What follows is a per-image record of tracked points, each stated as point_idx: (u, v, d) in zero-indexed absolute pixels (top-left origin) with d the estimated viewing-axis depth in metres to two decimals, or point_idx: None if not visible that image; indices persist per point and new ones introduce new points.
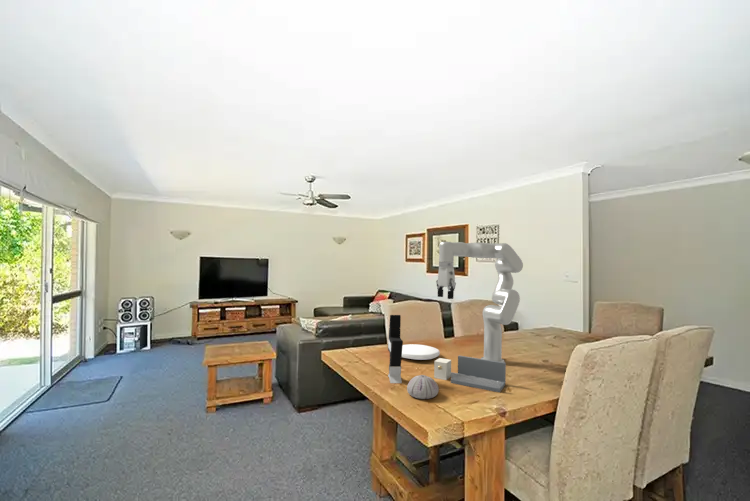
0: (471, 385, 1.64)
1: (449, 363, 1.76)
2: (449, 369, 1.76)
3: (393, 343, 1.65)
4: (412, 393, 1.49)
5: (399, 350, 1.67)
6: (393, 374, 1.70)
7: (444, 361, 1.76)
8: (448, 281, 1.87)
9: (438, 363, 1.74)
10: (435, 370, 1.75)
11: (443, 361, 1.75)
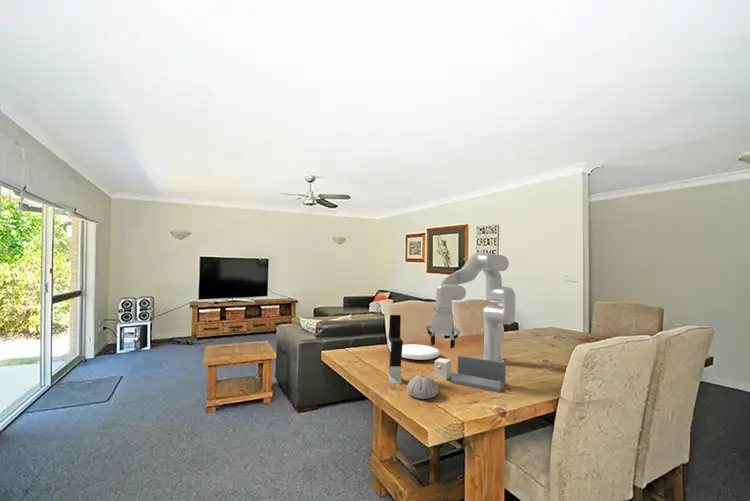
0: (471, 385, 1.64)
1: (449, 363, 1.76)
2: (449, 369, 1.76)
3: (393, 343, 1.65)
4: (412, 393, 1.49)
5: (399, 350, 1.67)
6: (393, 374, 1.70)
7: (444, 361, 1.76)
8: None
9: (438, 363, 1.74)
10: (435, 370, 1.75)
11: (443, 361, 1.75)
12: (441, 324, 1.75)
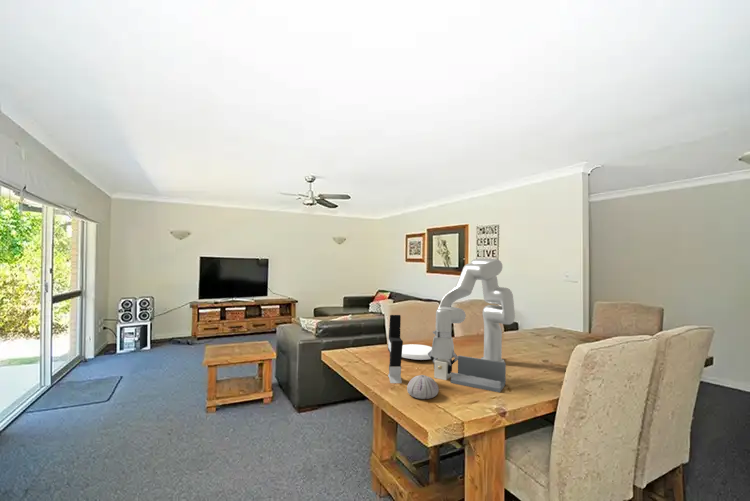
0: (471, 385, 1.64)
1: None
2: None
3: (393, 343, 1.65)
4: (412, 393, 1.49)
5: (399, 350, 1.67)
6: (393, 374, 1.70)
7: (444, 361, 1.76)
8: None
9: (438, 363, 1.74)
10: (435, 370, 1.75)
11: (443, 361, 1.75)
12: (441, 348, 1.75)
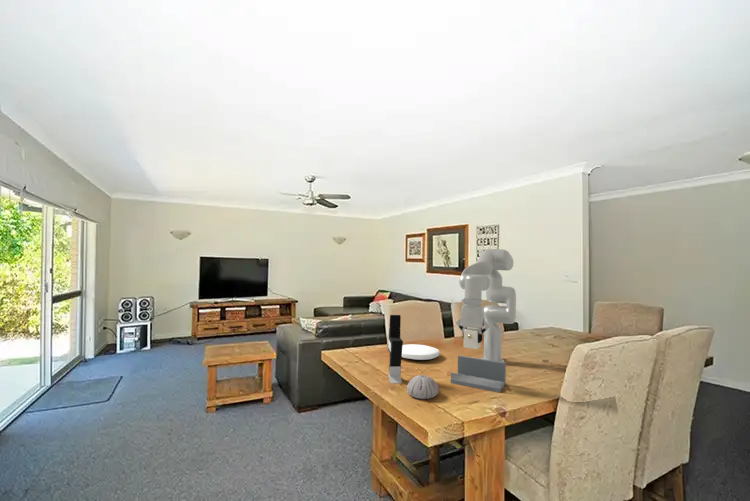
0: (471, 385, 1.64)
1: None
2: None
3: (393, 343, 1.65)
4: (412, 393, 1.49)
5: (399, 350, 1.67)
6: (393, 374, 1.70)
7: (474, 330, 1.67)
8: None
9: (468, 332, 1.66)
10: (465, 339, 1.67)
11: (473, 330, 1.67)
12: (471, 316, 1.67)
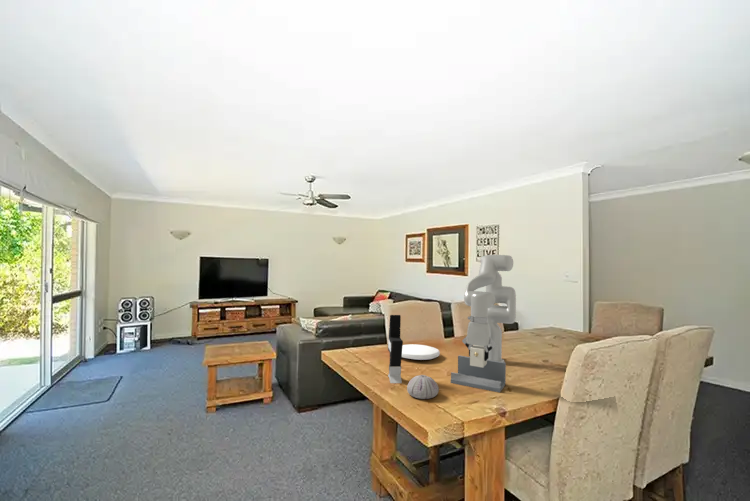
0: (471, 385, 1.64)
1: None
2: None
3: (393, 343, 1.65)
4: (412, 393, 1.49)
5: (399, 350, 1.67)
6: (393, 374, 1.70)
7: (480, 348, 1.68)
8: None
9: (474, 350, 1.66)
10: (471, 357, 1.67)
11: (479, 348, 1.67)
12: (477, 334, 1.67)
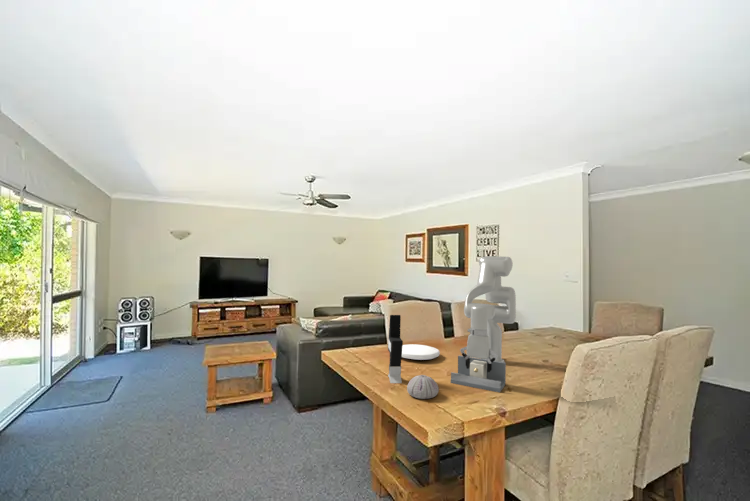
0: (471, 385, 1.64)
1: (485, 365, 1.68)
2: (485, 372, 1.68)
3: (393, 343, 1.65)
4: (412, 393, 1.49)
5: (399, 350, 1.67)
6: (393, 374, 1.70)
7: (480, 363, 1.67)
8: None
9: (474, 365, 1.66)
10: (471, 373, 1.67)
11: (479, 363, 1.67)
12: (477, 347, 1.67)
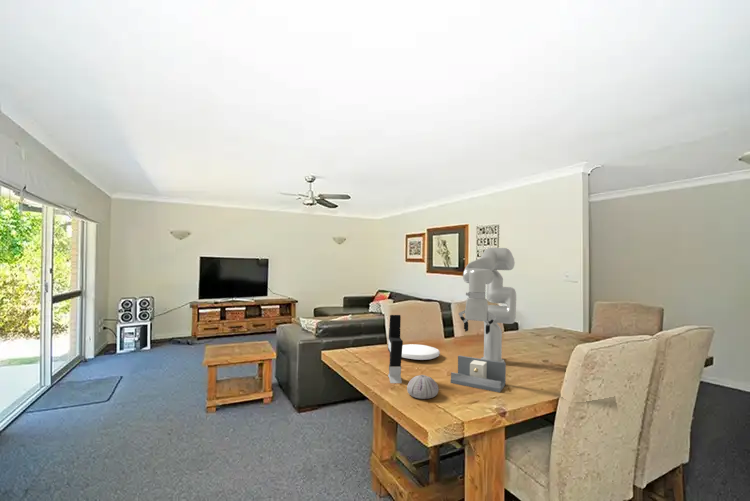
0: (471, 385, 1.64)
1: (485, 365, 1.68)
2: (485, 372, 1.68)
3: (393, 343, 1.65)
4: (412, 393, 1.49)
5: (399, 350, 1.67)
6: (393, 374, 1.70)
7: (480, 363, 1.67)
8: None
9: (474, 365, 1.66)
10: (471, 373, 1.67)
11: (479, 363, 1.67)
12: (475, 309, 1.69)
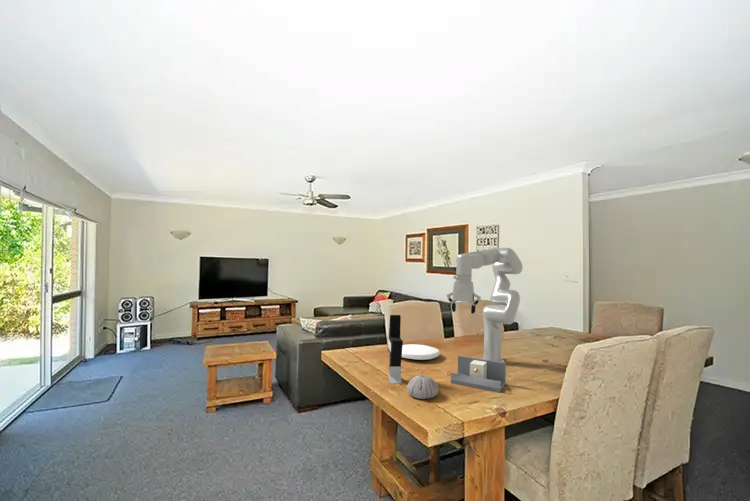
0: (471, 385, 1.64)
1: (485, 365, 1.68)
2: (485, 372, 1.68)
3: (393, 343, 1.65)
4: (412, 393, 1.49)
5: (399, 350, 1.67)
6: (393, 374, 1.70)
7: (480, 363, 1.67)
8: None
9: (474, 365, 1.66)
10: (471, 373, 1.67)
11: (479, 363, 1.67)
12: (462, 291, 1.83)
